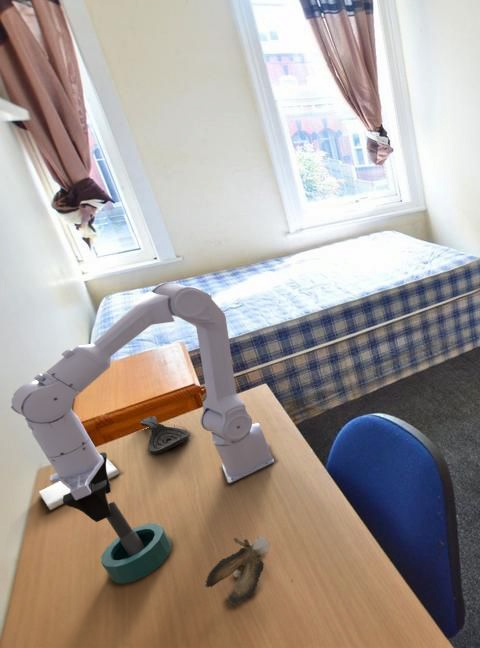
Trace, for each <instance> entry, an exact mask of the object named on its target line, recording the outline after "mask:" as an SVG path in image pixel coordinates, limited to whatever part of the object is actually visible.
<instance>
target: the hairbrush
mask: <svg viewBox="0 0 480 648" xmlns="http://www.w3.org/2000/svg"><path fill="white" fill-rule="evenodd" d="M139 424H140V425H141V426H142V427H148V428H149V429H150V430H151V433H150V434H149V435H150V436H149V441H148V448H149V451H150V453H151V454H153V455H157V454H160V453H161V454H162V453H164V452H165V451H167V450H169V449H171V448H173V447H175V446H177V445H179V444H181V443H183V442H184V441H186V440H188V439H190V437H191V434H190V432H189V431H188V430H187V429H185V427H183V426H179V427H178V428H177V427H175V424H171V426H167V425H164V424H161V423H159V421H158V420H157V417H156V416H154V415H152V416H149V417H148V416H147V417H145V418H143V419H142V420H141V421H140V423H139ZM172 426H173V427H172Z"/></svg>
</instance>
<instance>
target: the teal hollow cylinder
mask: <svg viewBox="0 0 480 648" xmlns="http://www.w3.org/2000/svg"><path fill="white" fill-rule="evenodd" d="M131 529H132V530H133V531H135V532H136V533H137V535H138V537H139V538H140V540H141V541H142V543H143V544H144V546H145V547H146V548H145V549H143V550H142V551H141V552H139V553H138V554H136V555H134V556H132V557H130V556H129V555H128V553H127V552H126V550H125V549H124V547H123V546H122V544H121V542H120V541H119V540H120V538H119V537H118V536H117V538H115V539H114V540H113V541H112V542H111V543H110V544H109V545H108V546H106V548H105V549H104V551H103V553H102V555H101V556H100V557H101V558H100V559H101V562H100V564H101V565H102V566H103V568H104V570H105V572H106V574H108V576H109V577H110V578H111V580H112V581H113V582H114V583H116V584H129V583H132V582H135V581H138V580H140V579H143V578H144V577H146V576H148V575H149V574H151V573H152V572H154V571H155V570H156V569H157V568H159V567H160V566H161V565H162V564H163V563H164V562H165V561H166V560H167V558H168V557H169V555H170V553H171V551H172V544H171V541H170V539H169V537H168V534H167V533H166V531H165V529H164V528H163V526H162V525H160V524H158V523H145V524H141V525H138V526H136V527H134V528H131Z"/></svg>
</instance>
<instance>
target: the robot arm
mask: <svg viewBox="0 0 480 648" xmlns="http://www.w3.org/2000/svg"><path fill="white" fill-rule="evenodd" d="M174 317H176V318H180V319H181V320H184V321H185V322H187V323H189V324H191V325H193V326H194V327H195V328H196V335H197V341H198V348H199V355H200V361H201V366H202V373H203V380H204V386H205V392H206V393H205V394H206V397H205V399H204V401H203V402H202V413H201V415H200V421H199V422H200V425H201V427H202V428H203V429H204V430H205V431H208V432H210V433H211V435H212V442H213V444H214V447H215V449H216V452H217V454H218V456H219V458H220V460H221V463H222V465H221V467H222V470H223V473H224V475H225V479H226V481H227V483H228V484H232V483H234V482H236V481H238V480H240V479H242V478H245V477H247V476H249V475H251V474H253V473H255V472H257V471H259V470H262V469H263V468H266V467H267V466H270V465H272V464H273V463H274V462H275V460H274V458H273V454H272V452H271V447H270V444H269V442H267V439H266V438H265V434H264V432H263V430H262V428H261V426H260V424H259V422H255V423H253V418H252V417H251V416H250V414H249V413H248V411H247V408H246V404H245V403H244V401H243V400H242V398H240V396H239V395H238V394H237V388H236V382H235V374H234V367H233V360H232V359H233V358H232V352H231V345H230V339H229V331H228V324H227V323H228V321H227V316H226V314H225V312H224V311H223V310H222V309H221V307H220V306H219V305H217V303H216V302H215V301H214V300H213V299H212V294H210V293H209V292H207V291H204V290H202V289H200V288H198V287H196V286H186V285H182V284H178V283H174V282H169V281H168V282H161V283H159V284H157V285H156V286H154V288H152V290H151V291H148V292H146V293H145V294H143V295H141V297H140V298H139V299H138V301H137V302H136V303H135V304H134V305H133V306H132V307H131V308H130V309H128V311H127V312H125V314H123V315H122V316H121V317H120V318H119V319H118V320H116V322H115V323H114V324H113V325H111V326H110V327H109V328H108V329H107V330H106V331H104V333H102V334H101V335H100V336H99V337H98V338H97V339H96V340H95V341H94V342H93V343H90V344H83V345H77V346H75V347H74V348H73V349H70V348H67V349H66V350H64V351H63V352H62V353H61V356H62V358H61V359H59V360H58V361H57V362H55V364H53V365H52V366H51V367H49V369H47V370H46V371H45V372H43V373H38V374H37V375H35V376H34V377H33V379H34V380H33V381H31V382H27V383H25V384H22V385H21V386H20V387H18V388H17V389H16V390H15V391H14V393H13V394H12V396H13V397H12V398H11V406H10V408H11V410H13V411H14V412H15V413H17V414H18V415H21V416H22V417H24V420H25V422H26V424H27V427H28V428H29V429H30V430H31V434H32V436H33V438H34V439H35V441H36V442H37V443H38V446H39V447H40V449H41V450H42V452H43V453H44V455H45V456H46V458H47V459H48V461H49V463H50V464H51V466H52V468H53V469H54V471H55V472H54V473H52V474H51V475H50V476H49V481H50V483H51V484H55V483H57V482H59V481H61V482H62V483H63V484H64V485H66V486H67V487H68V488H69V489H70V492H71V493H68V494H66V495H64V496H63V502H64V504H63V505H65V506H66V507H69V508H74V509H77V510H78V511H81V512H82V513H83V514H85V515H86V516H87V517H88V518H89V519H91V520H92V521H94V522H95V523H99V522H100V521H102V520H105V519H107V517H109V516H111V512H110V507H109V503H110V502H109V501H108V498H107V494H110V493H111V492H112V490H111V489H112V488H111V483H110V479H108V475H107V470H106V460H107V459H108V454H107V453H106V452H100V453H99V451H98V450H97V448H96V446H95V444H94V443H93V441H92V439H91V437H90V435H89V433H88V432H87V430H86V429H85V427H84V425H83V424H82V422H81V420H80V418H79V416H78V415H77V414H76V413H75V412H74V410H73V405H74V399H75V398H76V397H77V396H78V395H80V394H81V393H82V392H83V391H85V389H87V388H88V387H89V386H90V385H91V384H92V383H93V382H95V381H96V380H97V379H98V378H99V377H101V376H102V375H103V374H104V373H105V372H106V371H107V370H109V368H111V360H112V359H111V358H112V356H113V355H115V354H116V353H118V351H120V350H121V349H122V348H124V347H125V346H126V345H128V343H130V342H131V341H132V340H134V339H135V338H136V337H138V336H139V335H140V334H142V333H143V332H144V331H145V330H147V329H148V328H149V327H151V326H153V325H160V324H166V323H167V324H168V323H173V322H176V321H175V318H174Z"/></svg>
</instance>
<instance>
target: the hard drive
mask: <svg viewBox="0 0 480 648" xmlns="http://www.w3.org/2000/svg"><path fill="white" fill-rule="evenodd" d="M106 470H107V475H108V479H109V480H111V479H113V478H114V477H116V476H118V475H120V472H119V470H118V468H117V467H116V466H115V465H114V464H113V463H112V462H111V461H110V460H109V459H108V458H107V460H106ZM38 493H39V495H40V497H41V499H42V500H43V502H44V503H45V504H46V506H47V507H48V509H49V510H50V511H53V510H54V509H56V508H58V507H60V506H62V505H65V504H64V502H63V496H64V495H66V494H68V493H71V492H70V489H69V488H68V487H67V486H66V485H64V484H63V483H62V482H61V481H58V482H55V483H52V484H51V485H50V486H48V487H47V486H46V488H43V489H42V490H39V491H38Z"/></svg>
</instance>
